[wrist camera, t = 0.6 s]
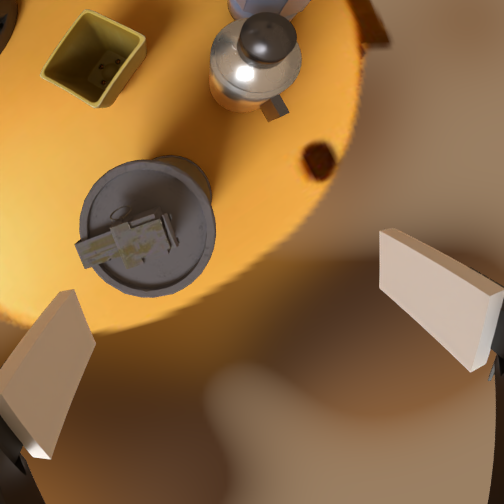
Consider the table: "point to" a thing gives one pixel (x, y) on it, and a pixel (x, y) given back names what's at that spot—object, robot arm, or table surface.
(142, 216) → the canister
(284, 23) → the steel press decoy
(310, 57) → the table surface
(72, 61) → the flower pot
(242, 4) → the blue mug
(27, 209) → the table surface
